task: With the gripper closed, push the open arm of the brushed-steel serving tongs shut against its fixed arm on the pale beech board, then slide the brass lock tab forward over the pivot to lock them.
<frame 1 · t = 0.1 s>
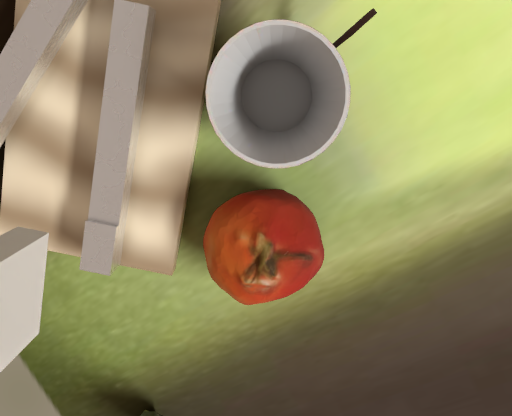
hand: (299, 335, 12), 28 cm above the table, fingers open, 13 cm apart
board: (114, 73, 37), on the table
vegetable: (161, 413, 45), on the table
tomato: (264, 231, 40), on the table
coffee mug: (294, 91, 37), on the table
tong arm: (3, 94, 34), point 4 cm above the table, hinge at -25.0°
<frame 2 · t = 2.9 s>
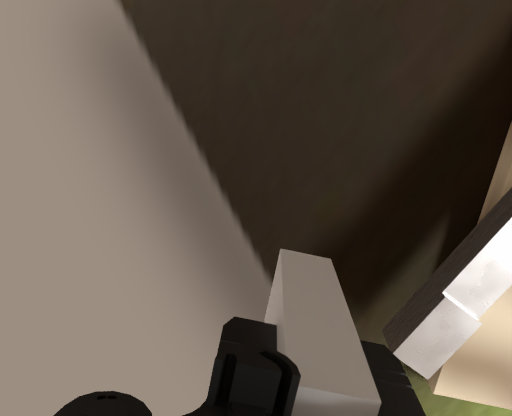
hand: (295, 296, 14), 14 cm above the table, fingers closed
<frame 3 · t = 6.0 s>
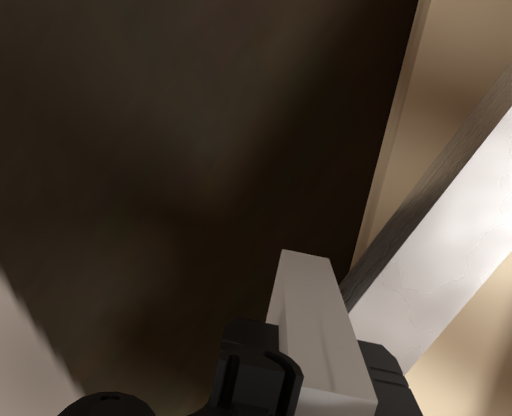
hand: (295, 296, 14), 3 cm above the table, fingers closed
tong arm: (436, 252, 13), point 4 cm above the table, hinge at -22.6°, touching gripper
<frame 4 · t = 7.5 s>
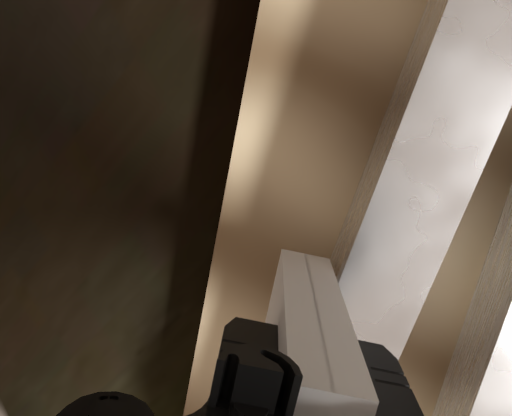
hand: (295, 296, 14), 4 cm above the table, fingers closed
board: (463, 124, 16), on the table
tong arm: (377, 278, 13), point 4 cm above the table, hinge at -6.2°, touching gripper
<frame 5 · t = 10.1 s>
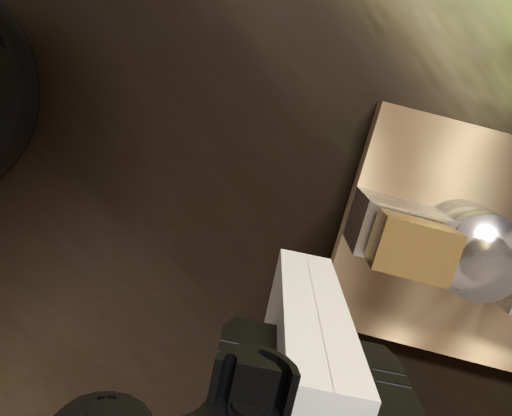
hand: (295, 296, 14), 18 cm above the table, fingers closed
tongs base: (447, 231, 31), resting on board
lock tab: (412, 247, 24), point 7 cm above the table, slide at 0.0 cm
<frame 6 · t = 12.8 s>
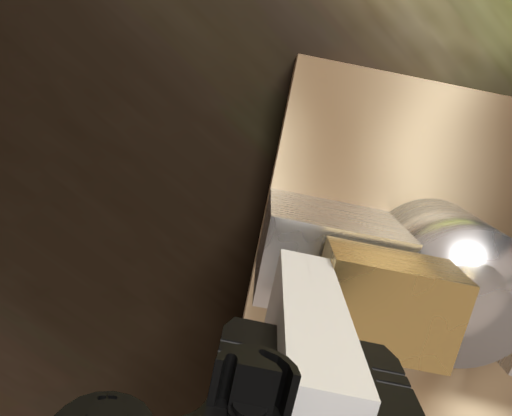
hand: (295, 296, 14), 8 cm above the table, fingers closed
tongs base: (413, 244, 21), resting on board
lock tab: (385, 302, 14), point 7 cm above the table, slide at 1.3 cm, touching gripper
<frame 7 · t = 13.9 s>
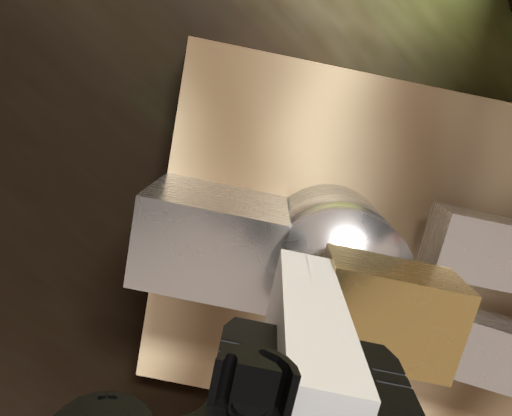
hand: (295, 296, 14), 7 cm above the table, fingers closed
board: (500, 279, 21), on the table
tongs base: (321, 232, 21), resting on board
lock tab: (385, 311, 14), point 7 cm above the table, slide at 5.7 cm, touching gripper
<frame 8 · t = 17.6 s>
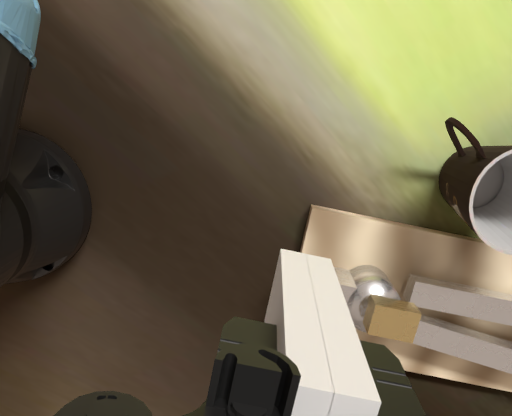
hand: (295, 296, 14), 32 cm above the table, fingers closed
board: (440, 303, 48), on the table
coffee mug: (468, 163, 45), on the table
tong arm: (494, 353, 45), point 4 cm above the table, hinge at -6.1°
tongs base: (362, 282, 48), resting on board
lock tab: (391, 318, 41), point 7 cm above the table, slide at 5.7 cm
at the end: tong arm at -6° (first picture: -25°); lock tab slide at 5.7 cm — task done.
